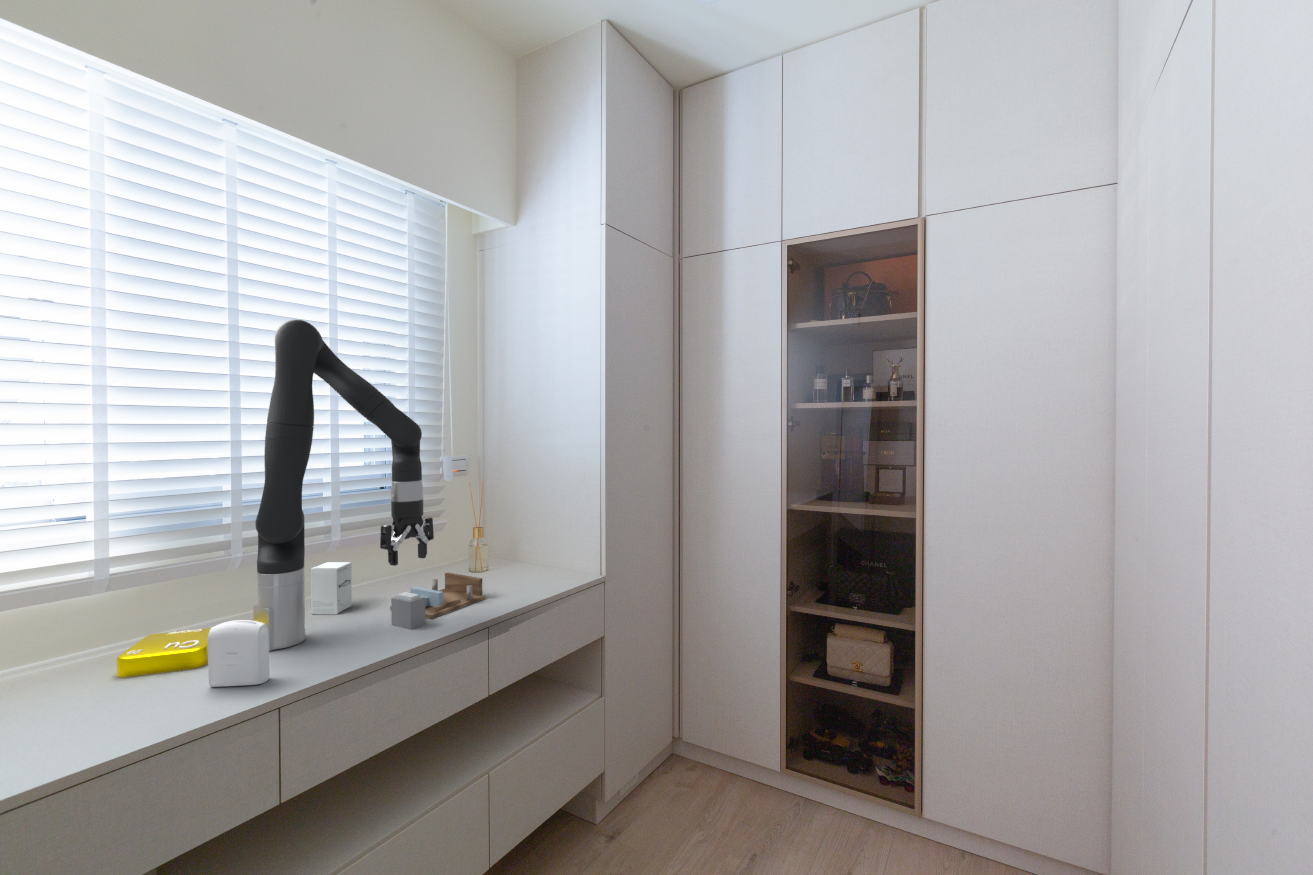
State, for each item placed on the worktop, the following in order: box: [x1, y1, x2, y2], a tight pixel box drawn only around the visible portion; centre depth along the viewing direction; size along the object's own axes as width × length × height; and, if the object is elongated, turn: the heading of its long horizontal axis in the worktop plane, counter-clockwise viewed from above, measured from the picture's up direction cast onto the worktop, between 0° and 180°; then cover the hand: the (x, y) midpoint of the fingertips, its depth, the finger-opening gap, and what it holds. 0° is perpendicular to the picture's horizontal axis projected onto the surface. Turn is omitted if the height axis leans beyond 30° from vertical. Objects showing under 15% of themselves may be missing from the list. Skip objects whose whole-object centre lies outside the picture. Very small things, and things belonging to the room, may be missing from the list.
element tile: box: [116, 627, 212, 678], centre depth 123 cm, size 15×15×5 cm
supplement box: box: [310, 561, 353, 615], centre depth 156 cm, size 7×7×13 cm
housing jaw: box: [410, 586, 443, 607], centre depth 155 cm, size 6×11×4 cm, turn 63°
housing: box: [389, 572, 486, 620], centre depth 161 cm, size 20×16×6 cm
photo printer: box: [207, 619, 270, 688], centre depth 112 cm, size 10×4×12 cm, turn 96°
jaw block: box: [390, 591, 426, 630], centre depth 145 cm, size 4×7×8 cm, turn 63°
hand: (408, 561), depth 145 cm, fingers open, 8 cm apart
